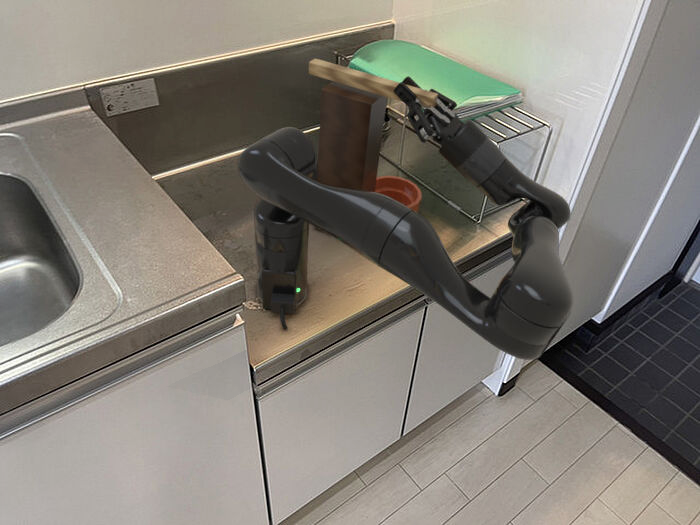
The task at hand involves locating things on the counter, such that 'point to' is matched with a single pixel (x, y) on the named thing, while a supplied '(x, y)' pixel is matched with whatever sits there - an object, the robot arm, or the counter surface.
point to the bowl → (400, 191)
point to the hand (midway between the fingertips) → (400, 83)
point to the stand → (350, 137)
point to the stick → (365, 81)
